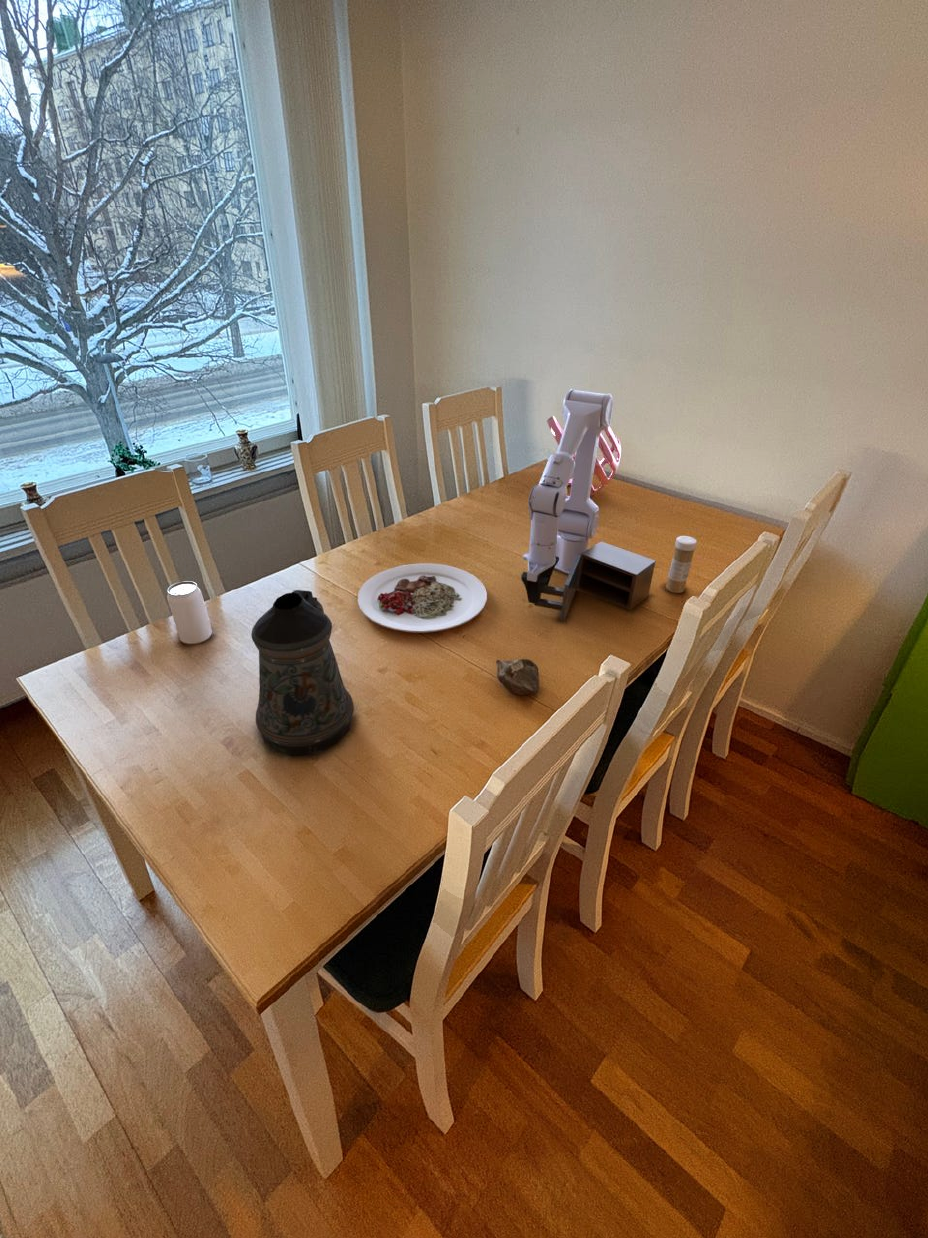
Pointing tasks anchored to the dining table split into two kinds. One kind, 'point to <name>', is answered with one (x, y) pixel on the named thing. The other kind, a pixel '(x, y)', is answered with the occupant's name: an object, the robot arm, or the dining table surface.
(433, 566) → the plated food
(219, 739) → the dining table surface
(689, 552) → the sprinkles bottle
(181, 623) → the can
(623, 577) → the cupboard
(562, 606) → the cupboard door
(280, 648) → the beer stein
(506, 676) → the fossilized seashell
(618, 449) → the spiral basket
